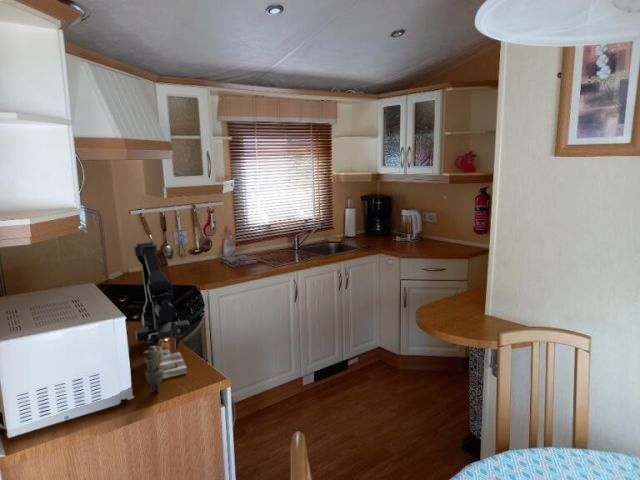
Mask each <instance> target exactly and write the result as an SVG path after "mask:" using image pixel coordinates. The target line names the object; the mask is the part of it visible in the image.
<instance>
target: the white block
mask: <svg viewBox="0 0 640 480" xmlns="http://www.w3.org/2000/svg"><path fill="white" fill-rule="evenodd" d="M160 367H161V368H162V369H163V379H167V378H173V377H176V376H180V375H185V374H188V367H187V365H186V363H185V360H184V358H183V356H182V354H181V352H180V351H177V352H173V353H170V354H167V355H163V356H162V362H161V364H160ZM163 379H162V380H163Z"/></svg>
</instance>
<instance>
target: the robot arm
mask: <svg viewBox="0 0 640 480" xmlns="http://www.w3.org/2000/svg"><path fill="white" fill-rule="evenodd" d="M132 250H133V251H132V252H133V256H135V259H136V261H137V262H138V263H139V265H140V266H141V273H142V279H143V287H144V294H145V304H144V305H143V307H142V310H143V312H141V324H142V325H143V327H141V328H137V329H135V337H136V340H137V342H143V343H147V344H148V345H149V347H151V346H155V345H154V342H157V341H158V342H159V339H164V338H170V339H171V338H172V337H173V336H174V347H175V351H177V350H178V347H179V343H180V340H181V338H182V336H184V335H185V334H186V333H188V332H191V331H192V329H191V324H190V322H189V321H188V320H187V319H185V320H180V321H174V322H173V321H172V319H173V318H174V317H175V316H176V309H175V307H174V306H173V305H172V304H171V302H170V300H171V299H174V295H175V291H174V287H173V284H172V282H171V281H170V280H169V279H168V277H167V274H165V273H163V272H162V269H161V266H160V262H159V260H158V256H157V254H158V244H157V243H156V244H153V242H152V241H149V242H142V243H141V242H140V243H136V244H135V246H132Z"/></svg>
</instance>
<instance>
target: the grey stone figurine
mask: <svg viewBox="0 0 640 480" xmlns="http://www.w3.org/2000/svg"><path fill="white" fill-rule="evenodd" d="M142 354H143V355H144V357H143V359H144V360H145V361H144V363H145V364H146V368H147V370H145V380H146V382H147V383H148V384H149V385H150V390H151V391H152V392H158V390H161V382H162V380H163V369H162V368H161V367H160V364H161V362H162V356H163V355H162V349H161V348H160V346H159V345H154V346H151V347H150V346H149V349H146V350H145V351H143V353H142Z"/></svg>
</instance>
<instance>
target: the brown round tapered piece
mask: <svg viewBox="0 0 640 480" xmlns="http://www.w3.org/2000/svg"><path fill="white" fill-rule="evenodd" d="M158 344H159V345H158V346H159V347H160V348H161V349H162V355H167V354H171V349H170V348H171V338H164V339H159V340H158Z"/></svg>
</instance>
